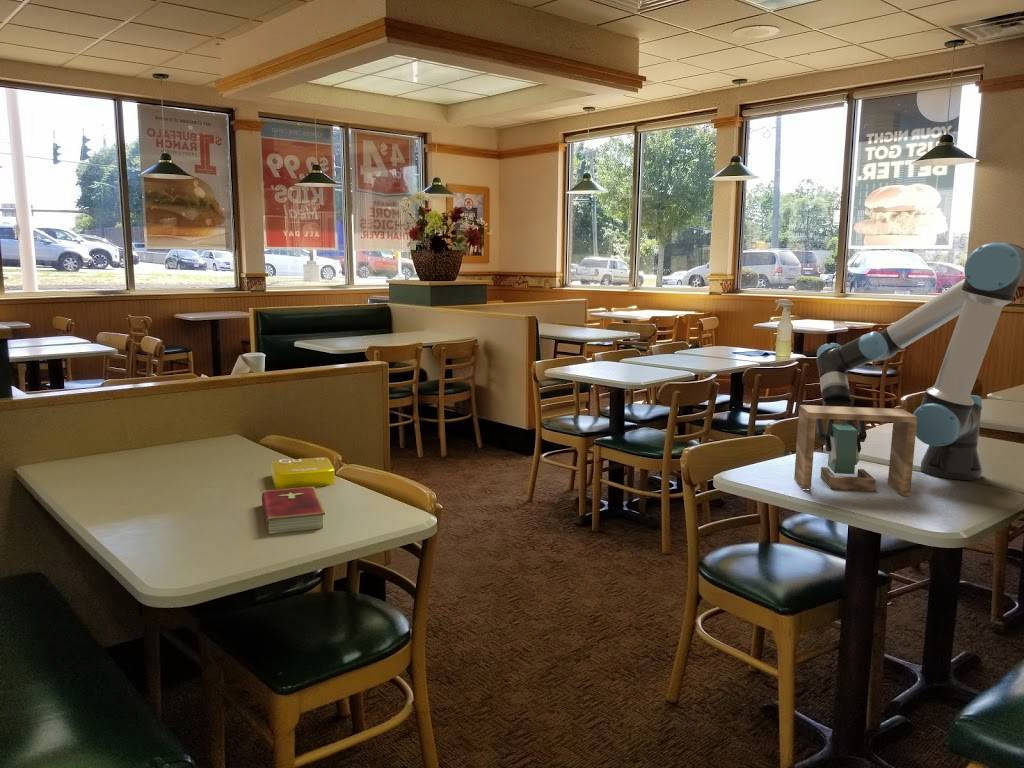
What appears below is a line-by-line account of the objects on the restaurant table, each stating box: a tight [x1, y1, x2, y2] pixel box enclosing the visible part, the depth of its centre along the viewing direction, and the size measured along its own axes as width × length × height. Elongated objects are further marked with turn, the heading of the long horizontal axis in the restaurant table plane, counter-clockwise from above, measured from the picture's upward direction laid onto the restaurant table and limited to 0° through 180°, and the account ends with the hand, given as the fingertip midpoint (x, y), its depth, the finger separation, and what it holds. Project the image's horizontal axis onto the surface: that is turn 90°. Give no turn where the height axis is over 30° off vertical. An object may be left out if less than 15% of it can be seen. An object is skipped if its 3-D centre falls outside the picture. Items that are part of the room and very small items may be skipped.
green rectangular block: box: [827, 423, 859, 475], centre depth 210 cm, size 5×8×12 cm, turn 170°
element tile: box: [270, 456, 336, 490], centre depth 203 cm, size 15×15×5 cm
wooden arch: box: [793, 404, 917, 497], centre depth 203 cm, size 26×14×20 cm, turn 81°
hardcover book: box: [261, 487, 326, 535], centre depth 173 cm, size 12×21×4 cm, turn 20°
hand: (845, 461), depth 207 cm, fingers closed on green rectangular block, 5 cm apart
